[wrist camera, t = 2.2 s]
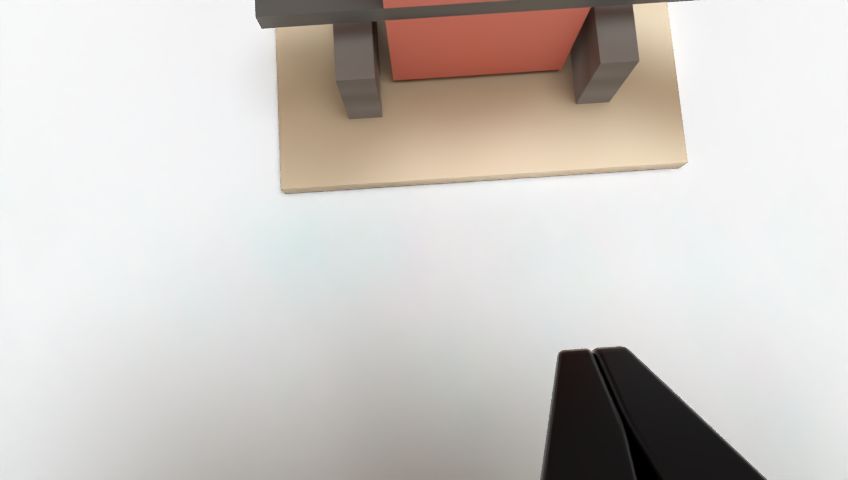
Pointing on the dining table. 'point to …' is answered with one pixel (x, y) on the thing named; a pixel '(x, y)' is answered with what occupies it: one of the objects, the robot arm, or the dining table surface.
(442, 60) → the red plug
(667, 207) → the dining table surface
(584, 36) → the beige base board
